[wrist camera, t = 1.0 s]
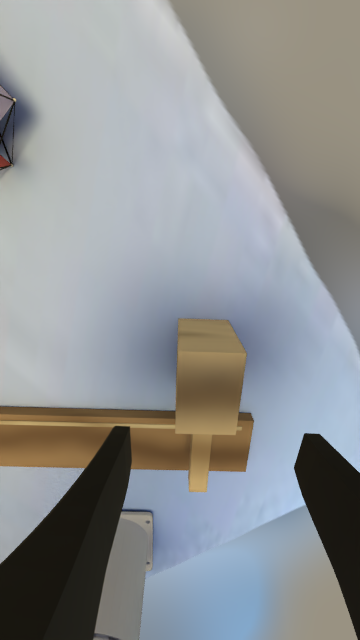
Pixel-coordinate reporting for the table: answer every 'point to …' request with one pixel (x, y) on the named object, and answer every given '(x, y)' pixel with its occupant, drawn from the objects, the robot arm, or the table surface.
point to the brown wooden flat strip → (92, 430)
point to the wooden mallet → (207, 389)
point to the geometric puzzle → (3, 101)
